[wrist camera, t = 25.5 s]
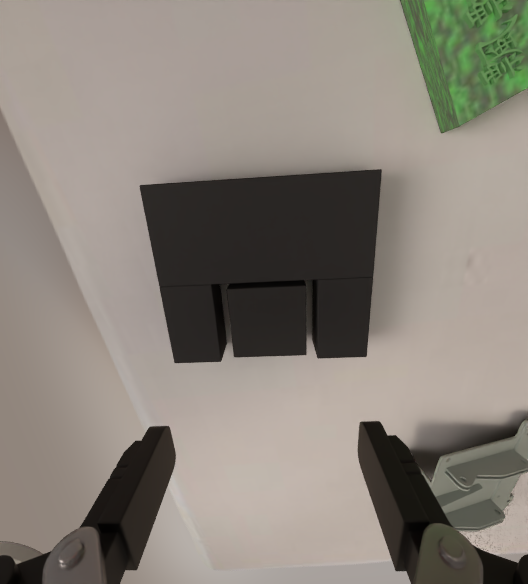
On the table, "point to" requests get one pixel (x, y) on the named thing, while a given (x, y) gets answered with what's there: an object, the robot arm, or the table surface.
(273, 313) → the small black block
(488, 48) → the green jade tablet
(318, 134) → the table surface
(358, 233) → the black flat notched block
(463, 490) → the metal bracket
